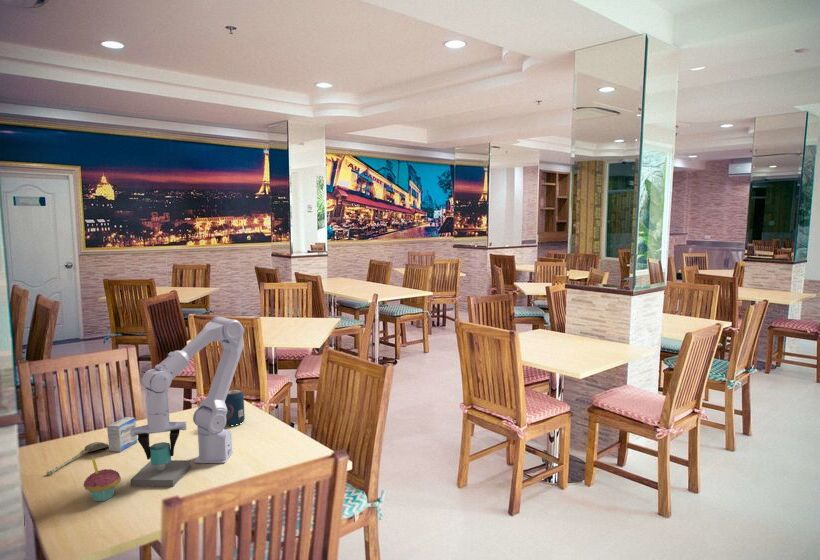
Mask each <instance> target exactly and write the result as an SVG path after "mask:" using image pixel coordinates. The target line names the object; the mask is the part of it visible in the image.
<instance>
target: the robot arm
mask: <svg viewBox="0 0 820 560" xmlns="http://www.w3.org/2000/svg"><path fill="white" fill-rule="evenodd" d="M244 334H245V328H244V327H243V325H242V323H241V322H240V321H239V320H237V319H232V318H228V317H227V318H226V317H224V316H215V317H214V318H212V319H211V320H210V321H208V322H207V323H206V324H205V326H204V328H203V329H202V330H200V332H199V333H198V334H197V335H196V336H195V337H193V339H192V340H191V341H190V342H188V343H187V345H185V346H184V347H183V348H182V349H181V350H174V351H170V352H169V353H168V354H167V357H166V358H164V359H163V360H162V361H161V362H160V363H159V364H156V365H155V366H154V368H152V369H149V370H147V371H145V373H143V376H142V377H141V378H142V379H141V380H140V383H141V385H142V387H143V388H144V389H145V403H146V404H145V406H146V407H145V408H146V420H147V424H145V425H141V426H136V427H135V428H131V430H130V435H131V437H134V436H136V435H137V443H139V444H140V446H141V447H142V449H143V451H144V454H145V456H146V458H147V459H146V460H150V446H151V445H150V435H151V434H157V433H159V434H160V433H167V432H170V433H169V444H170V455H171V457H173V456H174V452H175V446H176V443H177V440H178V438H179V435H180V431H186V430H187V421H170V408H169V407H170V406H169V394H168V392H169V391H168V389H169V388H170V387H171V384H172V381H173V380H174V379H175V377H177V376H178V375H179V374H180V373H181V372H182V371H184V370H185V368H187V367H188V366H189V365H190V359H191V358H192V357H194V356H195V355H196V354H198V353H199V352H200V351H201V350H203V349H204V348H205V347H206V346H208V345H209V344H210V343H212V342H219V343H220V345H221V346H222V348H223V350H222V353H221V356H220V359H219V362H218V365H217V368H216V370H215V373H214V376H213V379H212V383H211V386H210V388H209V391H208V394H207V397H206V398H204V399H202V400H201V402H200V404H199V406H198V407H197V408H196V410H195V411H194V413H193V415H192V420H193V421H192V422H193V423H194V424H195V426H197V441H198V456H197V457H196V459H195V460H194V461H193V463H194V464H225V463H226V462H227V460H228V459H229V458H230V456H231V455H232V454H233V453H234V451H233V443H232V442H233V438H232V437H233V436H232V432H231V430H229V429H225V426H226V425H227V424H226V414H227V411H228V410H227V407H226V404H225V400H226V397H227V394H228V391H229V390H230V387H231V384H232V382H233V378H234V376H235V372H236V370H237V367H238V364H239V361H240V358H241V355H242V352H243V350H244V338H243V337H244Z"/></svg>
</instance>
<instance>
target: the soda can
mask: <svg viewBox="0 0 820 560" xmlns="http://www.w3.org/2000/svg"><path fill="white" fill-rule="evenodd" d="M225 404H226V407H227V410H228V411H227V414H226V425H227V424H228V425H236V424H240V423H242V422H243V423H244V421H245V418H246V417H245V396H244V393H243V391H242V389H240V388H231V389H230V388H229V391H228V394H227V397H226V400H225ZM243 423H242V424H243ZM228 425H227V426H228Z"/></svg>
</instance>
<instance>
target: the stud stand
mask: <svg viewBox="0 0 820 560" xmlns="http://www.w3.org/2000/svg"><path fill="white" fill-rule="evenodd" d="M191 467H192V461H191V459H190V460H188V459H186V460H185V459H183V460H180V459H179V460H177V459H174V460H172V459H171V461H170V462H168V463H166V464H163V465H151V461H149V462H147V463H146V464H145V465H144V466H143V467H142V468H140V470H139V471H137V473H136V474H135V475H133V476H132V477H131V478H130V479H129V481H130V487H131V486H134V487H142V488H143V487H144V488H145V487H155V488H156V487H163V488H164V487H169V488H170V487H171V488H173V487H175V486H176V484H177V483H178V482H179V481H180V479H181V480H182V477H183V476H184V475H185V474H186V473H187V472H188V471H189V469H190V468H191ZM134 487H133V488H134Z"/></svg>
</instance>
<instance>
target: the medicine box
mask: <svg viewBox="0 0 820 560" xmlns="http://www.w3.org/2000/svg"><path fill="white" fill-rule="evenodd" d="M136 420H137V419H136V417H132V416H131V417H129V416H124V417H122V418H120V419H118V420H116V421H115V422H112V423H111V424H108V425H107V427H106V429H107V430H106V431H107V439H108V445H109V447H108V451H109V452H118V453H121V452H124V451H125V450H127V449H128V448H130V447H131V446H133V445H135V444H136V443H138V435H136V436H134V437H131V435H130V430H131V428H135V427H137V421H136Z"/></svg>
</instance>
